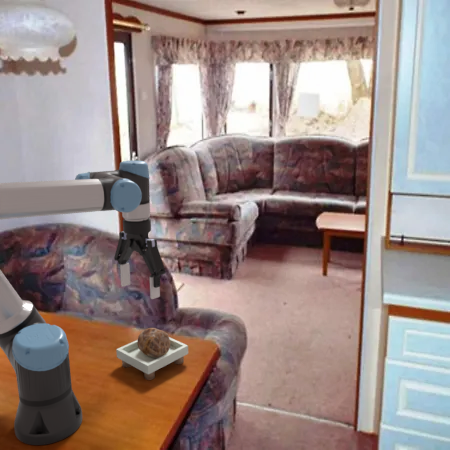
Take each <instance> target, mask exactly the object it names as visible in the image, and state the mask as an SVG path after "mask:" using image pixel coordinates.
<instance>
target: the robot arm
mask: <svg viewBox="0 0 450 450" xmlns="http://www.w3.org/2000/svg"><path fill="white" fill-rule="evenodd" d="M150 178H151V177H150V171H149V164H148V163H147V162H146V161H145V160H137V159H135V160H124V161H121V162H120V163H119V167H118V169H116V170H105V171H104V170H103V171H91V172H90V171H88V172H82V173H78V174H77V175H76V176H75V179H62V180H44V181H43V180H41V181H40V180H39V181H20V182H19V181H18V182H14V181H13V182H0V220H1V221H2V220H3V221H4V220H10V219H11V220H12V219H25V218H35V217H37V218H38V217H45V216H46V217H47V216H49V217H50V216H57V215H59V216H60V215H70V214H71V215H72V214H80V213H81V214H82V213H92V212H93V213H94V212H107V211H109V212H110V211H117V212H120V213H121V215H122V218H123V220H122V229H123V230H122V231H120V232H119V239H118V243H117V246H116V250H115V253H114V257H113V258H114V261H117V263H118V265H119V274H120V283H121V284H120V286H121V287H122V288H123V287H127V286H130V285H131V269H130V268H131V266H130V263H129V262H130V260H129V259H130V258H131V256H132V254H133V253H134V252H136V253H138V254H139V256H142V259H143V260H144V262H145V264H146V265H145V266H146V267H147V269H148V270H149V273H150V275H149V294H150V295H149V296H150V300H154V299H157V298H160V297H161V289H160V288H161V287H160V286H161V275H162V276H163V275H165V274H166V272H167V271H166V267H165V266H164V262H163V260H162V256H161V254H160V251H159V248H158V239H156V238H149V234H150V233H151V231H152V220H151V218H150V216H151V203H150V202H151V201H150V200H151V198H150V195H151V194H150V193H151V192H150ZM69 348H70V345H69V341H68V339H67V334H66V332H65V331H64V329H63V328H61V327H60V326H58V325H56V324H50V323H47V322H46V320H45V318H43V316H42V315H41V314H40V313H39V311H38V309H37V308H36V306H35V305H34V304H33V302H31V301H30V300H24V299H22V298H21V297H20V295H19V294H18V292H17V291H16V290H15V288H14V287H13V285H12V284H11V283H10V281H9V279H7V277H6V276H5V274H4V273H3V271H2V270H1V269H0V349H1V350H2V351H3V353H4V354H5V355H6V357H7V359H8V360H9V362H10V365H11V367H12V368H13V370H14V372H15V375H16V377H15V378H16V385H17V392H18V398H19V399H18V405H17V409H16V413H15V418H14V423H13V424H14V425H13V426H14V434H15V436H16V438H17V440H19V441H20V442H21V443H24V444H27V445H32V446H44V445H50V444H54V443H57V442H61V441H62V440H64V439H65V440H66V438H68V437H70V436H72V435H73V434H74V433H75V432H77V430H78V429H79V428H80V426H81V425H82V423H83V410H82V407H81V405H80V403H79V400H78V399H77V397H76V395H75V392H74V390H73V387H72V375H71V365H70V353H69Z"/></svg>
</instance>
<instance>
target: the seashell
mask: <svg viewBox="0 0 450 450" xmlns="http://www.w3.org/2000/svg"><path fill="white" fill-rule="evenodd" d="M169 337H170V336H169V334H168V333H167V332H166V331H164V330H161V329H158V328H156V327H148V328H146V329H144V330H142V331H140V334H139V335H138V337H137V340H138V347H139V349H140V351H141V352H142V353H144V354H145V355H147V356H151V357H154V358H158V357H162V356H164V355H165V354H166V353H167V352H168V351H169V348H170V339H169Z"/></svg>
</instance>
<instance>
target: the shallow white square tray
mask: <svg viewBox="0 0 450 450" xmlns="http://www.w3.org/2000/svg"><path fill="white" fill-rule="evenodd" d="M169 339H170V348H169V351H168V352H167V353H166V354H165V355H164V356H162V357H158V358H154V357H151V356H147V355H145V354H144V353H142V352H141V351H140V349H139V347H138V339H136V340H134V341H132V342H129V343H127V344H125V345H122V346H121V347H118V348H116V350H115V351H116V358H118V359H119V360H121V365H122V367H123V368H130V367H133V368H136V369H137V370H139V371H141V372H143V373H144V374H143V375H144V379H145V380H147V381H151V380H153V379H155V377H156V376H155V375H156V374H155V373H156V371H158V370H159V369H161V368H164V367H166V366H167V365H170V364H171V363H173V362H174V364H175V365H182V364H183V363H184V361H185V359H184V357H185V356H187V355H188V354H189V344H188V345H187V344H186V343H183V342H182V341H179V340H176V339H174V338H173V337H170V336H169Z"/></svg>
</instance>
